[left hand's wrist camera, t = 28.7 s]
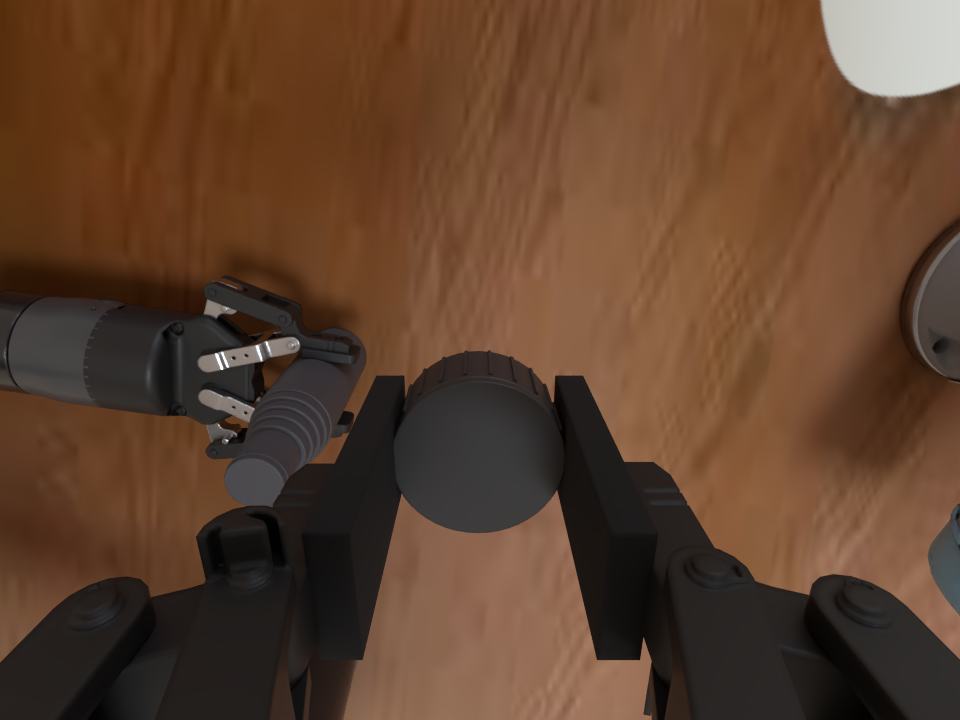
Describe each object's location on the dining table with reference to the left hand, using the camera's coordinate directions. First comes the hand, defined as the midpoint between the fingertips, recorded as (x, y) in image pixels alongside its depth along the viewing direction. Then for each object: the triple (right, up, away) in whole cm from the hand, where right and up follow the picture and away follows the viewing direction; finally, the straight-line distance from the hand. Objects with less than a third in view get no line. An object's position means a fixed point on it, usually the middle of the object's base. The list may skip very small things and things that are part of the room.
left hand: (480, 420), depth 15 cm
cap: (0, -1, -2) cm, 2 cm away
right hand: (-9, 0, +24) cm, 26 cm away
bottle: (-12, +2, +29) cm, 32 cm away
